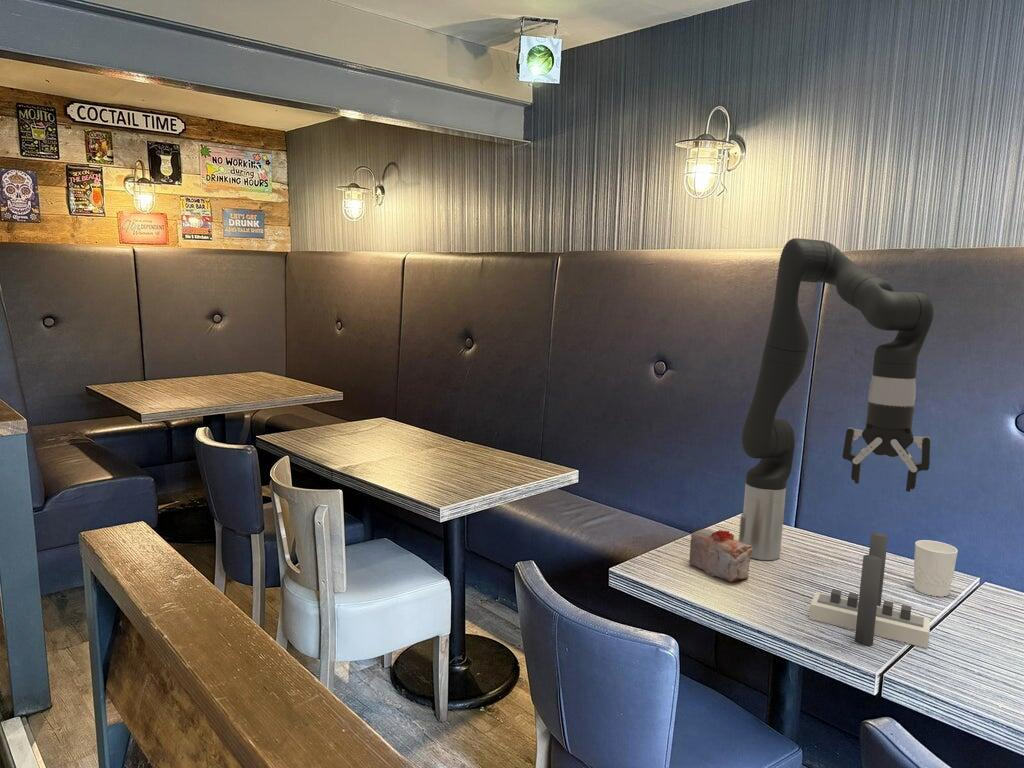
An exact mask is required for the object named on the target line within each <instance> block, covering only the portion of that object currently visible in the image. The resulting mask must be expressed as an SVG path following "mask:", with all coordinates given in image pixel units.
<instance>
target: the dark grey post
mask: <svg viewBox="0 0 1024 768" xmlns="http://www.w3.org/2000/svg"><path fill="white" fill-rule="evenodd" d="M881 564H882V559H881V558H880V557H877V556H874V555H869V554H864V555H863V558H862V565H861V566H862V568H861V577H860V586H859V593H858V602H859V603H858V613H857V623H856V630H855V634H854V642H856V643H857V644H859V645H862V646H866V647H870V646H873V645H874V640H875V639H874V637H875V635H874V630H875V620H876V611H877V601H878V592H879V583H880V573H881Z"/></svg>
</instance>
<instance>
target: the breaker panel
mask: <svg viewBox="0 0 1024 768" xmlns="http://www.w3.org/2000/svg"><path fill="white" fill-rule="evenodd" d="M842 591H843V590H840V589H837V588H836V589H835V588H832V590H831V593H830V594H827V593H822V592H819V591H816V592H815V594H814V595H813V598H812V601H811V603H810V606H809V616H808V620H813V621H815V622H819V623H820V622H821V623H824V624H828V625H832V626H836V627H839V628H840V627H841V628H845V629H848V630H852V631H856V623H857V613H858V603H859V593H857V594H856V593H854V592H849V593H848V596H847V598H844V597H842ZM930 623H931V618H930V617H926V616H923V615H917V614H915V613H912V606H910V605H905V604H901V608H900V610H896V609H894V602H893V601H890V600H889V601H888V600H885V599H884V600H883V604H882V606H881V607H880V606H877V611H876V620H875V630H874V636H877V637H880V638H883V639H889V640H892V639H893V641H896V640H898V641H897V642H900V641H901V642H900V643H904V642H906V643H905V644H908V643H909V645H912V646H916V647H921V648H923V649H924V648H925V649H928V646H929V639H930V629H931V628H930V626H931V624H930Z"/></svg>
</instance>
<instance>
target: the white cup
mask: <svg viewBox="0 0 1024 768" xmlns="http://www.w3.org/2000/svg"><path fill="white" fill-rule="evenodd" d="M958 553H959V551H958V549H957V548H956V547H955V546H953V545H951V544H948V543H945V542H942V541H936V540H931V539H930V540H929V539H927V540H926V539H922V540H921V539H920V540H917V541H915V543H914V557H913V559H914V560H913V588H914V590H916V591H917V592H919V593H921V594H924V595H926V594H927V596H930V595H932V596H931V597H936V596H939V597H940V598H944V596H945V597H948V596H949V594H950V593H951V587H952V583H953V578H954V574H955V569H956V563H957V562H956V561H957V557H958ZM939 597H938V598H939Z"/></svg>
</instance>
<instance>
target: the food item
mask: <svg viewBox="0 0 1024 768" xmlns="http://www.w3.org/2000/svg"><path fill="white" fill-rule="evenodd" d="M734 536H735V535H734V534H733V533H730V531H729V530H722V529H719V530H717V531H714V530H713V531H712V529H710V528H709V529H706V528H702V529H699V530H696V531H694V532H692V533H691V535H690V550H689V559H688V564H689V566H692V567H696V568H698V569H700V570H702V571H704V572H705V573H706V575H708V576H711V577H717V578H719V579H722V580H725V581H727V582H738V581H742V580H747V579H748V578H749V571H750V563H751V562H752V561H751V559H752V558H751V554H752V547H753V546H751V545H747V544H745V543H742V542H739V540H736V539H734V538H735V537H734Z"/></svg>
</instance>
